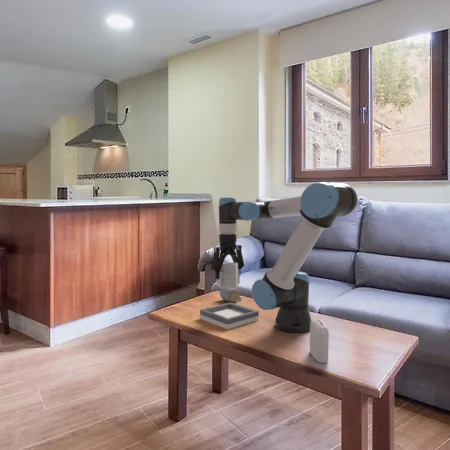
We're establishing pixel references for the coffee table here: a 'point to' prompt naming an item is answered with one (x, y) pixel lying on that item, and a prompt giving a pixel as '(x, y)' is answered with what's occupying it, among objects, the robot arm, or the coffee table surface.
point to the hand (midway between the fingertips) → (228, 284)
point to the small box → (229, 275)
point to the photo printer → (319, 340)
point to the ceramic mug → (230, 294)
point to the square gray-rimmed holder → (229, 315)
